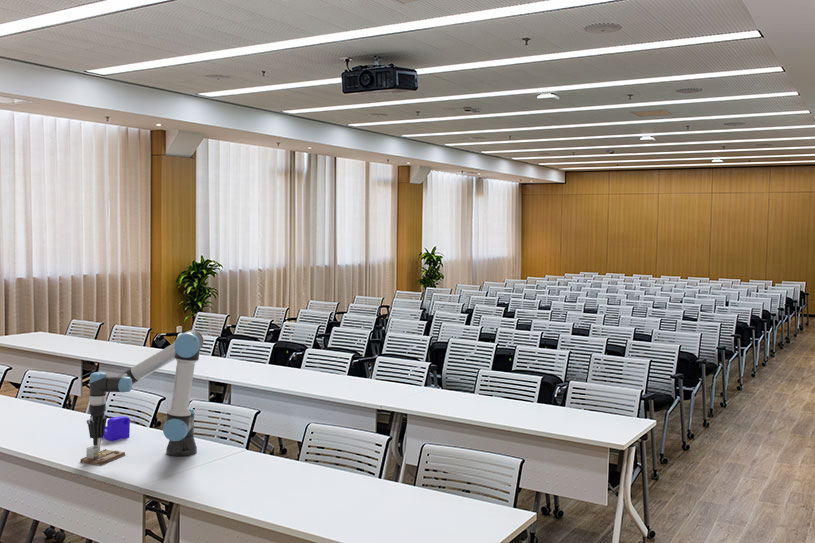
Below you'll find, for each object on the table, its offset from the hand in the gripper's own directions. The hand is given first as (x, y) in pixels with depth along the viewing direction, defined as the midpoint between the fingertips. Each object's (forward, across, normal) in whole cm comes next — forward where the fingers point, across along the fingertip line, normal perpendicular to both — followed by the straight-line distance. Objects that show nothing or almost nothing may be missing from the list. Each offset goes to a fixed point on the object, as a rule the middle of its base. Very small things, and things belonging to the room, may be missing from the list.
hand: (96, 451), depth 356 cm
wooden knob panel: (+4, -2, +2) cm, 5 cm away
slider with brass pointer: (+2, +3, +2) cm, 4 cm away
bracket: (+5, -38, -21) cm, 44 cm away
